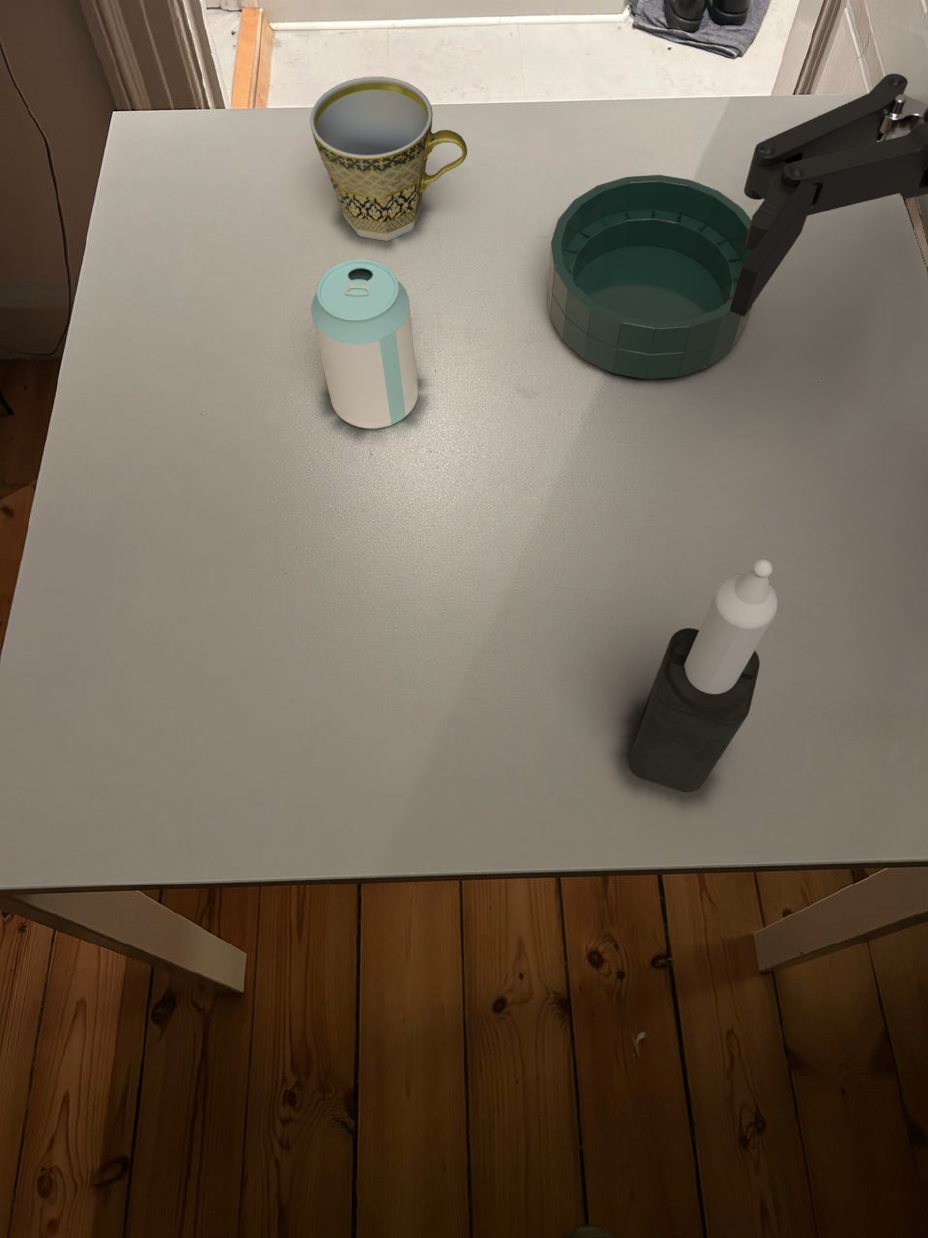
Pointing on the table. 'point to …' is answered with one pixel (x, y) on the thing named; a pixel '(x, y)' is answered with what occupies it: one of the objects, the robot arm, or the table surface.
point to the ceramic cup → (378, 152)
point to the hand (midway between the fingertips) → (885, 352)
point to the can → (366, 343)
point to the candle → (705, 685)
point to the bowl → (648, 275)
